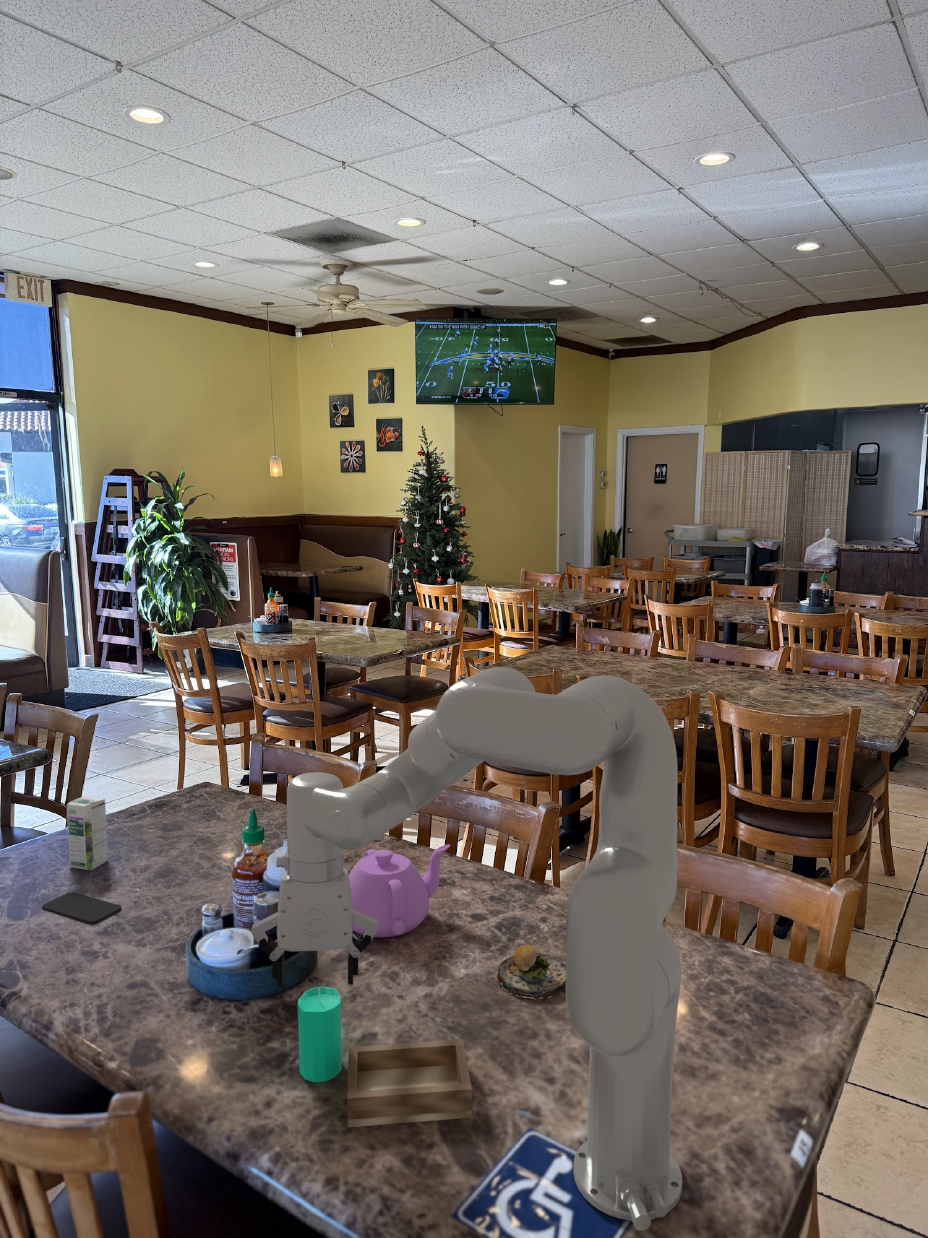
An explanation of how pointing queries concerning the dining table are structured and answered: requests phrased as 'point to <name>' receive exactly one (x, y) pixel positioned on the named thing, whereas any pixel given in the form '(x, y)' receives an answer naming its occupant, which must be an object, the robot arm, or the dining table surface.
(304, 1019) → the candle
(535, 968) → the plate of food
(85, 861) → the syrup box
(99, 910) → the phone
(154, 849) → the dining table surface
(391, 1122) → the tray
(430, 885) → the teapot
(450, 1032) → the dining table surface
